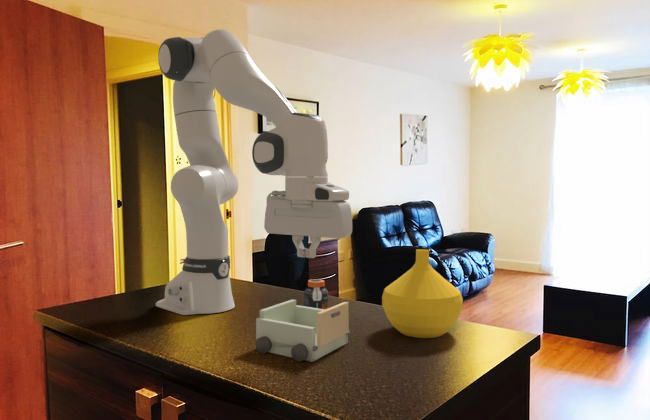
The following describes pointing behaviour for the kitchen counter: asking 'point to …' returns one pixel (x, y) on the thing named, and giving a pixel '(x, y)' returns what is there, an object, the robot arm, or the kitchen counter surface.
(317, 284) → the pill bottle
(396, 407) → the kitchen counter surface
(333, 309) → the panel
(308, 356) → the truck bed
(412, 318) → the vase
